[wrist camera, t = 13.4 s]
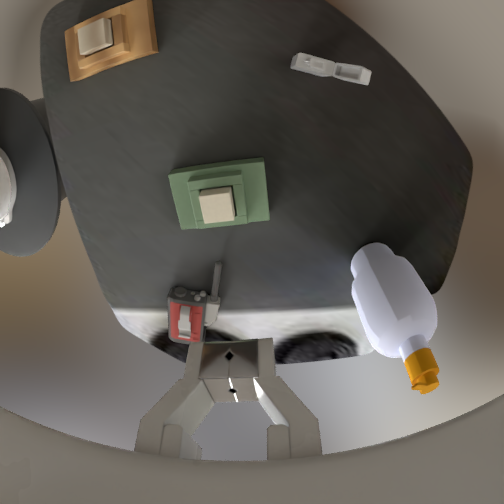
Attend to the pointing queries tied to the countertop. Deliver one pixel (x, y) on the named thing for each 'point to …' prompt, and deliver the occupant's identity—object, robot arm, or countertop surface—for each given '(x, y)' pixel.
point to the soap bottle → (396, 311)
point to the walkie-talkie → (192, 311)
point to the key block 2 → (216, 176)
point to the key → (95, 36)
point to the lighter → (330, 68)
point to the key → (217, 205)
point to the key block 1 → (115, 39)
